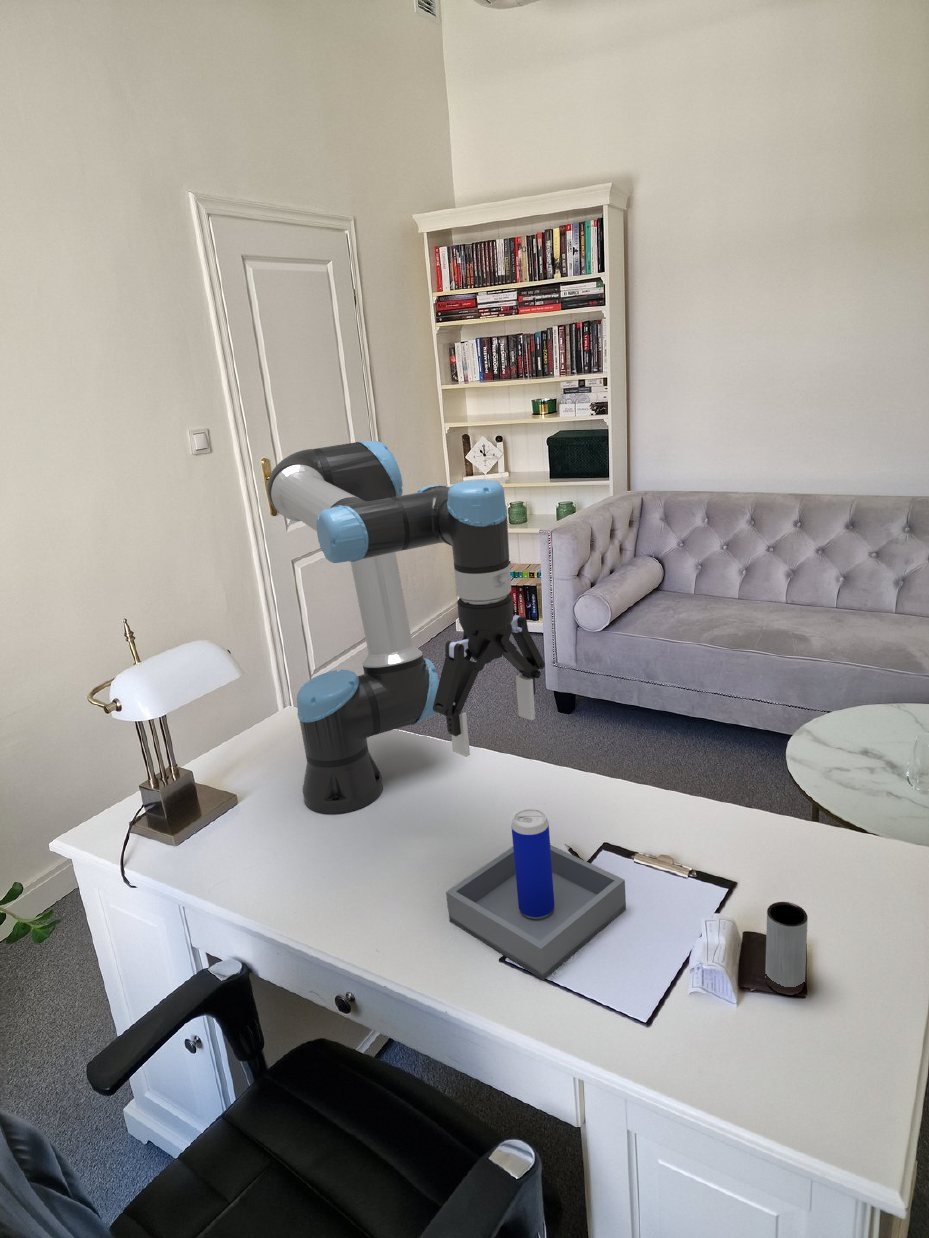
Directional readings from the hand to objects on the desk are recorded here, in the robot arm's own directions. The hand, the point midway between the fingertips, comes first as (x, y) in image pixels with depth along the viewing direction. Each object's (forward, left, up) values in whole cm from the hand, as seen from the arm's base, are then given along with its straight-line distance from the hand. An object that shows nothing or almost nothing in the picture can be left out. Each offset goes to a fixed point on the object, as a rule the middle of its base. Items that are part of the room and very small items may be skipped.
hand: (495, 734), depth 117 cm
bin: (+9, -4, -25) cm, 27 cm away
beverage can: (+9, -4, -24) cm, 26 cm away
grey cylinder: (+41, +6, -25) cm, 48 cm away
